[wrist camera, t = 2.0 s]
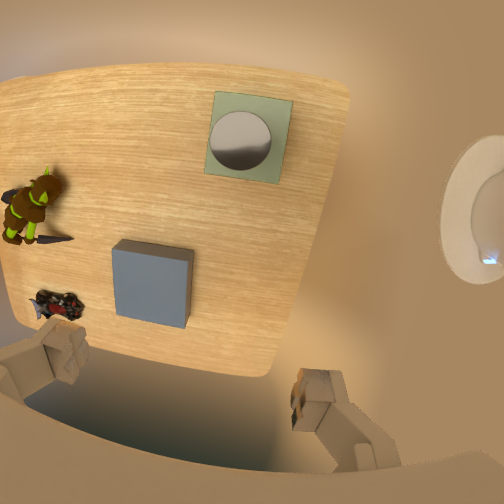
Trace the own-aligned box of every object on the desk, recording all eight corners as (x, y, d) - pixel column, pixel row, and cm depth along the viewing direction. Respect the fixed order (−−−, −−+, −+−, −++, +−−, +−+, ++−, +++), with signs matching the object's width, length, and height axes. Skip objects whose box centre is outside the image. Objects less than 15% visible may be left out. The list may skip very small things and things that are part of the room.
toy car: (37, 286, 51) (26, 296, 47) (81, 292, 50) (70, 303, 46) (45, 311, 53) (35, 322, 49) (88, 318, 53) (79, 331, 49)
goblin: (58, 265, 48) (95, 218, 43) (-8, 250, 37) (15, 192, 31) (57, 222, 53) (92, 172, 47) (-2, 204, 41) (25, 145, 35)
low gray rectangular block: (194, 250, 46) (188, 261, 42) (189, 315, 51) (184, 329, 47) (122, 239, 46) (111, 248, 42) (124, 302, 50) (116, 314, 47)
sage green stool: (286, 107, 37) (293, 101, 28) (275, 171, 41) (278, 184, 32) (226, 99, 37) (215, 90, 28) (217, 162, 41) (203, 173, 32)
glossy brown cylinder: (272, 119, 29) (276, 115, 20) (265, 160, 31) (266, 175, 22) (229, 113, 29) (214, 107, 20) (223, 154, 31) (205, 166, 22)
